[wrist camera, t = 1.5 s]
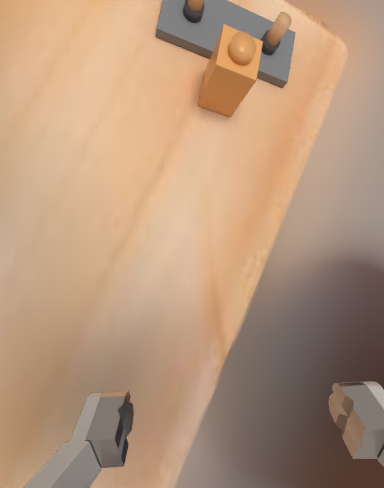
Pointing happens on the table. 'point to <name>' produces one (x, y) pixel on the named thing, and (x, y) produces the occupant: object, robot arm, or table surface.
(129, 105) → the table surface
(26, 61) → the table surface
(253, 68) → the orange toy brick
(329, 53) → the table surface
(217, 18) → the mounting plate
